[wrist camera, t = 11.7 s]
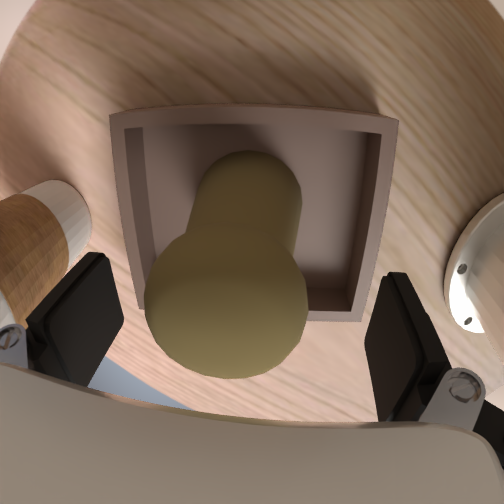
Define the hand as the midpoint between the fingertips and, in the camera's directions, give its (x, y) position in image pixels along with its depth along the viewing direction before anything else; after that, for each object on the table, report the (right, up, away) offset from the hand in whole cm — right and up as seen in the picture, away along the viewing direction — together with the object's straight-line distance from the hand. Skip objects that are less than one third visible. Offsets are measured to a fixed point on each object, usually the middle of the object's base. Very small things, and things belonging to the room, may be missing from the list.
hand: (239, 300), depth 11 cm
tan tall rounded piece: (0, +4, +8) cm, 9 cm away
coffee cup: (-13, +4, +10) cm, 17 cm away
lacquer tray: (0, +4, +8) cm, 10 cm away
